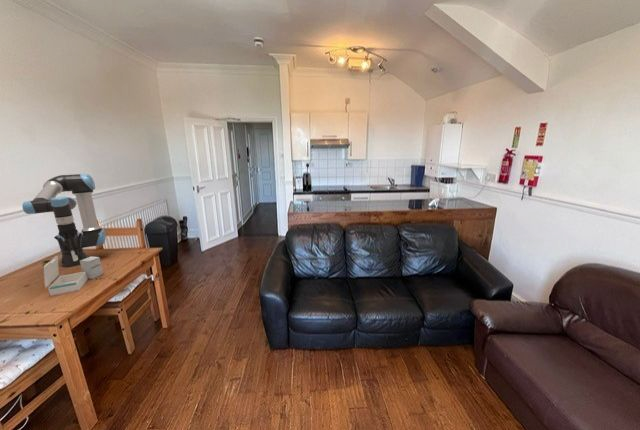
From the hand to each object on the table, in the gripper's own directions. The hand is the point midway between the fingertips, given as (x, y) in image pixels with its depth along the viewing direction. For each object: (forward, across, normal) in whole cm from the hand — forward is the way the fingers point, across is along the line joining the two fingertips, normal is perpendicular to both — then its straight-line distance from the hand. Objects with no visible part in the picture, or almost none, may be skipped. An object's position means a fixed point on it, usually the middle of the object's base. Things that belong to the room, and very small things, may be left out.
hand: (75, 260), depth 160 cm
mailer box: (+17, -6, 0) cm, 18 cm away
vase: (+17, -18, +14) cm, 29 cm away
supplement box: (+17, +3, +12) cm, 21 cm away
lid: (+5, -10, 0) cm, 11 cm away
